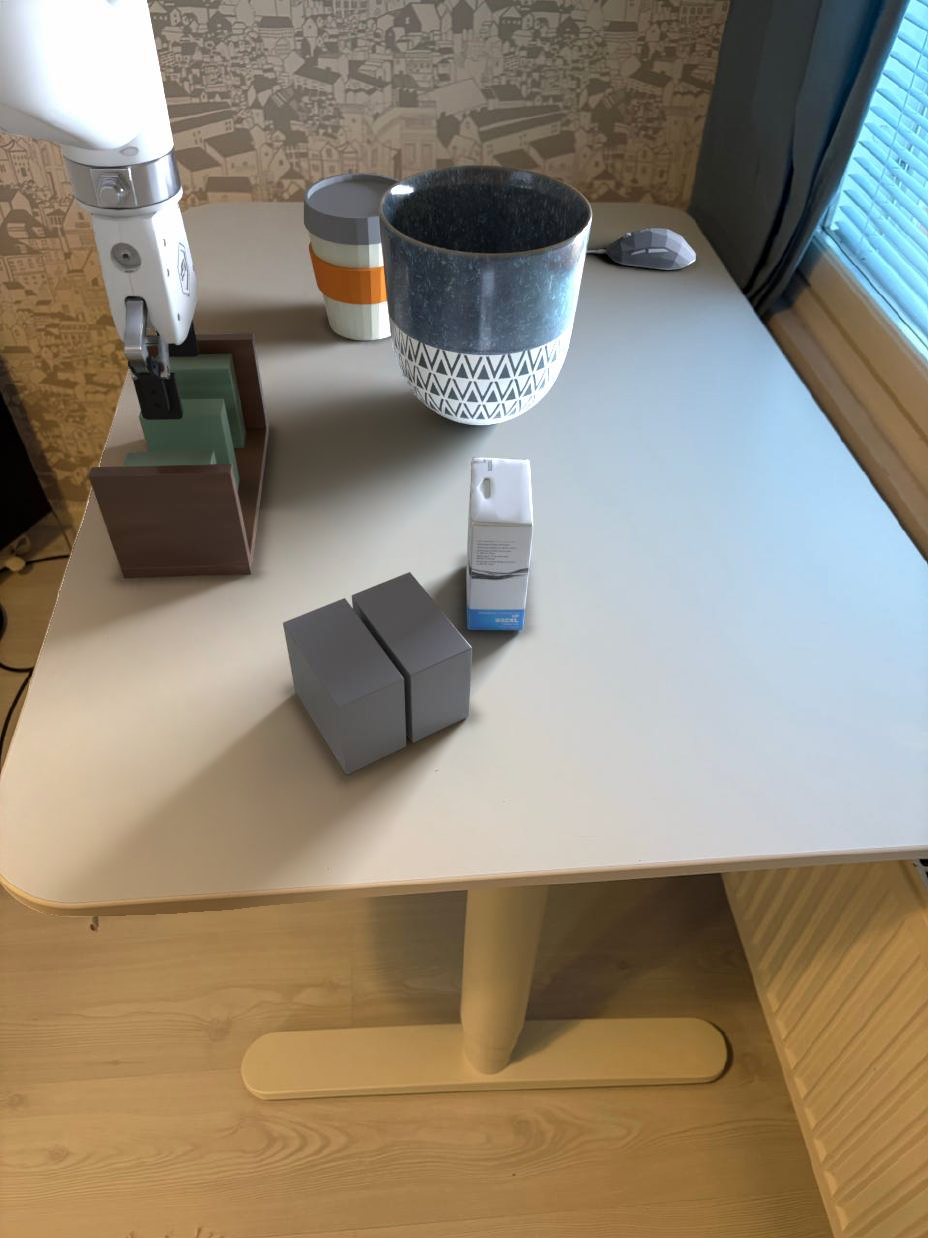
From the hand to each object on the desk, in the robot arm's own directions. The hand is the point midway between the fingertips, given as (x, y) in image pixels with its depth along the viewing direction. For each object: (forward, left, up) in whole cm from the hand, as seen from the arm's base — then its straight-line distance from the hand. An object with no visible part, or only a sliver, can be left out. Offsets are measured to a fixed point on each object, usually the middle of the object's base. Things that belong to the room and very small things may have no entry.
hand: (172, 384), depth 78 cm
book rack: (0, 0, -13) cm, 13 cm away
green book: (0, 0, -12) cm, 11 cm away
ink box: (+17, -25, -13) cm, 33 cm away
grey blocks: (+3, -30, -13) cm, 33 cm away
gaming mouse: (+69, +19, -13) cm, 73 cm away
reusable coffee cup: (+29, +22, -13) cm, 39 cm away
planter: (+31, 0, -13) cm, 34 cm away
